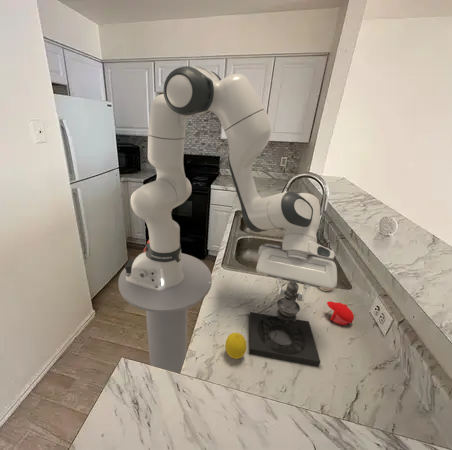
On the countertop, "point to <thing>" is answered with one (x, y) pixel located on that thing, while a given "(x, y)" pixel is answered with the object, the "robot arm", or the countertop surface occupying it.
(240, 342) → the lemon
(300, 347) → the pad
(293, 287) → the dark grey statuette
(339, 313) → the cap
